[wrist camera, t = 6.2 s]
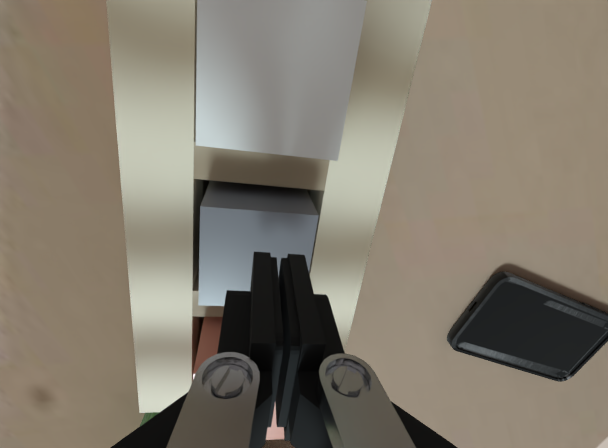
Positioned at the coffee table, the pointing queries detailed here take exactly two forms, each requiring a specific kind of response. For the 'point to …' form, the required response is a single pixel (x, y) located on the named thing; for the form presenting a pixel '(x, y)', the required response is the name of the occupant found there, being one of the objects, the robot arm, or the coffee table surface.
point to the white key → (276, 74)
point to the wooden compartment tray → (238, 174)
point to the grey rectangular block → (249, 233)
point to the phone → (529, 328)
